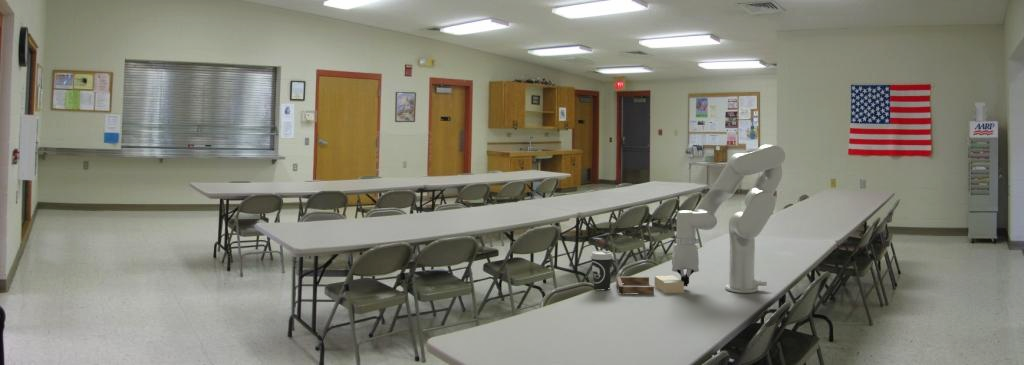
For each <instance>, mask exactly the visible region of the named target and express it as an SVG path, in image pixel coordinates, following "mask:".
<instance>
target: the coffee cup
mask: <svg viewBox="0 0 1024 365" xmlns="http://www.w3.org/2000/svg"><path fill="white" fill-rule="evenodd" d="M589 258H590V259H591V268H592V279H593V280H592V282H593V289H594V290H597V289H608V288H611V282H612V281H611V280H612V279H611V277H612V266H613V259H614V255H613V253H612V251H607V250H595V251H592V252H591V254H590V257H589ZM597 291H598V290H597Z"/></svg>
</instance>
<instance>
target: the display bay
mask: <svg viewBox="0 0 1024 365" xmlns="http://www.w3.org/2000/svg"><path fill="white" fill-rule="evenodd" d="M615 279H616V282H615V283H616V287H617V286H618V287H617V291H618V290H619V291H618V293H621V294H620V295H624V294H623V293H638V294H637V295H655V288H654V287H655V285H654V286H653V285H650V277H649V276H618V275H617V276H615ZM622 283H624V284H622ZM642 284H649V285H642Z"/></svg>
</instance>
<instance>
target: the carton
mask: <svg viewBox="0 0 1024 365" xmlns="http://www.w3.org/2000/svg"><path fill="white" fill-rule="evenodd" d="M655 286H656V287H655ZM654 287H655V288H657V289H658V288H659V289H660V290H659V289H658V290H659V291H661V292H662V291H663V292H662V293H663V294H677V293H679V294H680V293H685V292H684V291H685V290H684V289H685V286H684V282H683V281H682V280H681V278H678V277H677V276H675V275H654Z"/></svg>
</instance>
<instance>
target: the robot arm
mask: <svg viewBox="0 0 1024 365" xmlns="http://www.w3.org/2000/svg"><path fill="white" fill-rule="evenodd" d="M785 159H786V152H785V150H784V149H783V148H782V147H781V146H780V145H776V144H763V145H760V146H759V147H758V148H757V149H756V150H754V151H750V152H745V153H742V152H739V153H734V154H733V155H732V156H730V158H729V159H728V160H727V162H726V164H725V166H724V167H723V169H722V170H721V173H720V174H719V175H718V177H717V178H716V181H715V182H714V184H713V185H712V186H711V187H710V188H709V190H708V191H707V193H706V194H705V195H704V197H703V198H702V199H701V201H700V203H699V204H698V206H697V207H696V209H695V211H693V210H687V209H686V210H678V211H677V212H676V232H675V233H676V234H675V235H676V243H674V244H673V246H672V247H673V249H672V254H671V256H672V257H671V265H672V266H671V271H672V272H675V273H678V274H679V275H680V280H682V281H683V282H684V287H688V285H689V284H690V277H691V275H692V274H693V273H698V272H699V271H700V269H699V266H700V265H699V263H700V262H699V248H698V244H697V243H699V242H700V238H697V236H696V235H697V234H696V232H697V231H696V229H697V230H701V231H702V230H703V231H710V230H712V229H714V228H715V227H716V226H717V224H718V218H717V216H716V215H715V214H716V213H717V211H718V209H719V208H720V207H721V205H723V203H724V202H725V201H727V200H729V199H730V198H731V197H733V196H734V194H735V193H736V191H737V190H738V188H739V186H740V185H741V182H742V181H743V179H744V178H745V177H746V176H750V175H755V174H758V175H757V177H756V179H755V180H754V182H753V184H752V185H751V187H750V189H749V190H748V192H747V194H746V195H745V197H744V205H745V207H746V208H745V209H744V211H737V212H735V213H733V214H732V215H731V217H730V218H729V221H728V232H729V233H728V234H729V271H728V276H729V277H728V278H729V281H728V283H727V284H726V285H724V289H725V290H726V291H729V292H733V293H736V294H737V293H739V294H753V293H756V292H758V291H759V287H760V286H761V287H767V285H768V282H767V281H766V280H761V279H759V280H757V279H756V278H755V265H756V264H755V259H756V258H755V256H756V252H755V251H756V242H755V240H756V237H758V236H759V235H760V234H761V232H762V231H763V229H764V227H765V226H766V225H767V223H768V221H769V219H771V216H772V214H773V213H774V211H775V209H776V205H777V203H776V198H775V195H774V194H775V192H776V191H777V188H778V187H779V185H780V183H781V180H782V177H783V166H782V164H783V163H784V162H785ZM684 270H686V272H685V271H684Z"/></svg>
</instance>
